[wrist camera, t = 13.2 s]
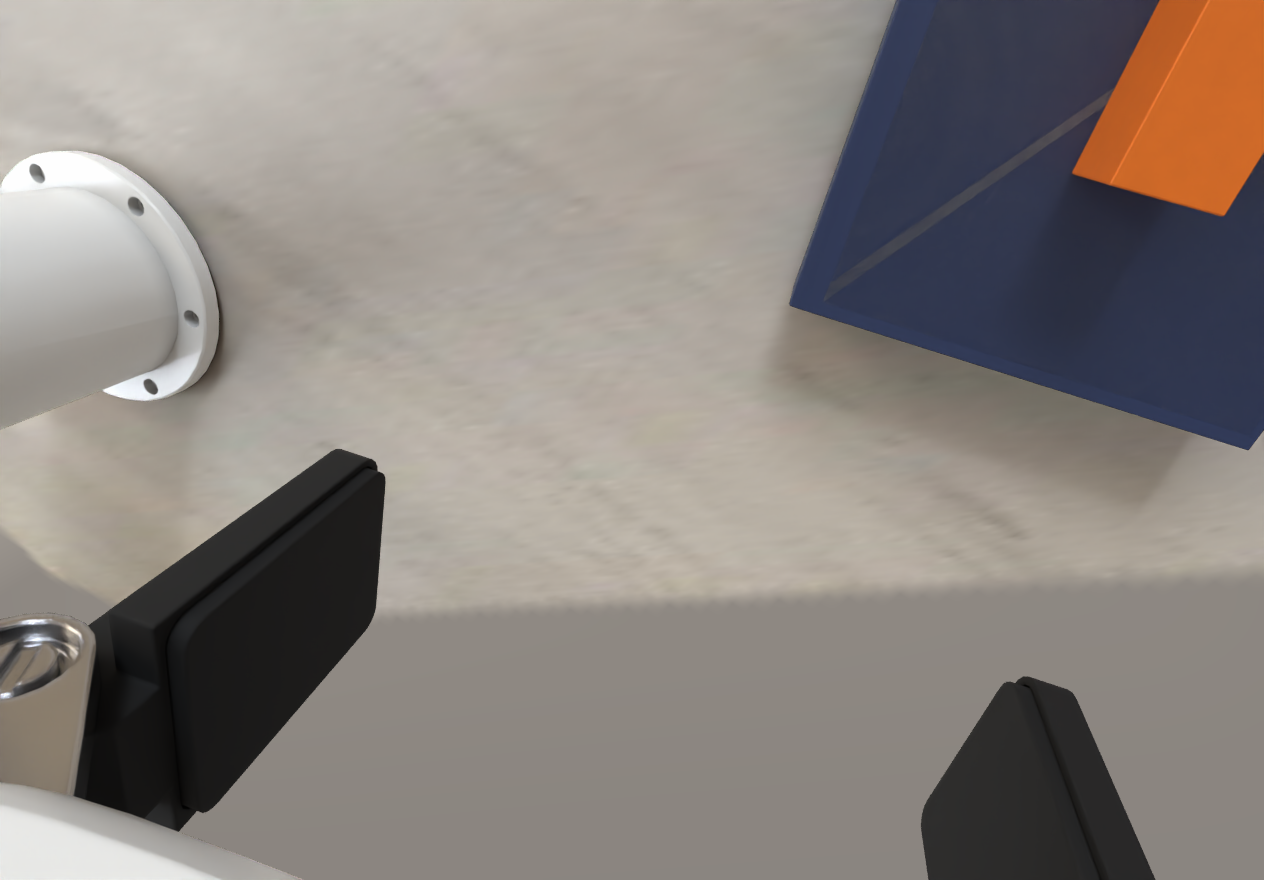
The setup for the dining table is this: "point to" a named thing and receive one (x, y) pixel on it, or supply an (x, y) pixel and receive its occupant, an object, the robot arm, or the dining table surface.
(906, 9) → the book
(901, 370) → the dining table surface
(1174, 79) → the long orange block
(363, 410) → the dining table surface
